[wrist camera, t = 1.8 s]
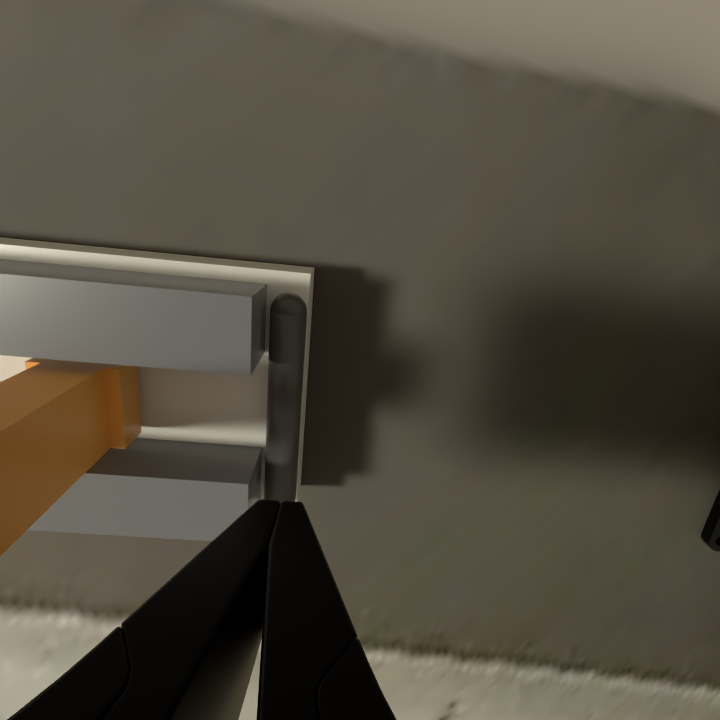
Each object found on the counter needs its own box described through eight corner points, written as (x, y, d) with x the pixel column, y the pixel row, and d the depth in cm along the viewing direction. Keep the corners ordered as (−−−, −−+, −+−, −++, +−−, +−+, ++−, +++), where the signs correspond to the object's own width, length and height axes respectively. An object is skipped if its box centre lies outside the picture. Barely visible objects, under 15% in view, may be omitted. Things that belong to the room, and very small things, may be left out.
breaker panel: (314, 267, 13) (303, 284, 10) (300, 485, 16) (288, 556, 13) (-91, 228, 13) (-244, 232, 9) (-38, 463, 15) (-146, 531, 12)
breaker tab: (136, 357, 12) (-109, 521, 6) (141, 432, 13) (-70, 653, 6) (50, 350, 12) (-304, 509, 6) (60, 425, 13) (-243, 645, 6)
